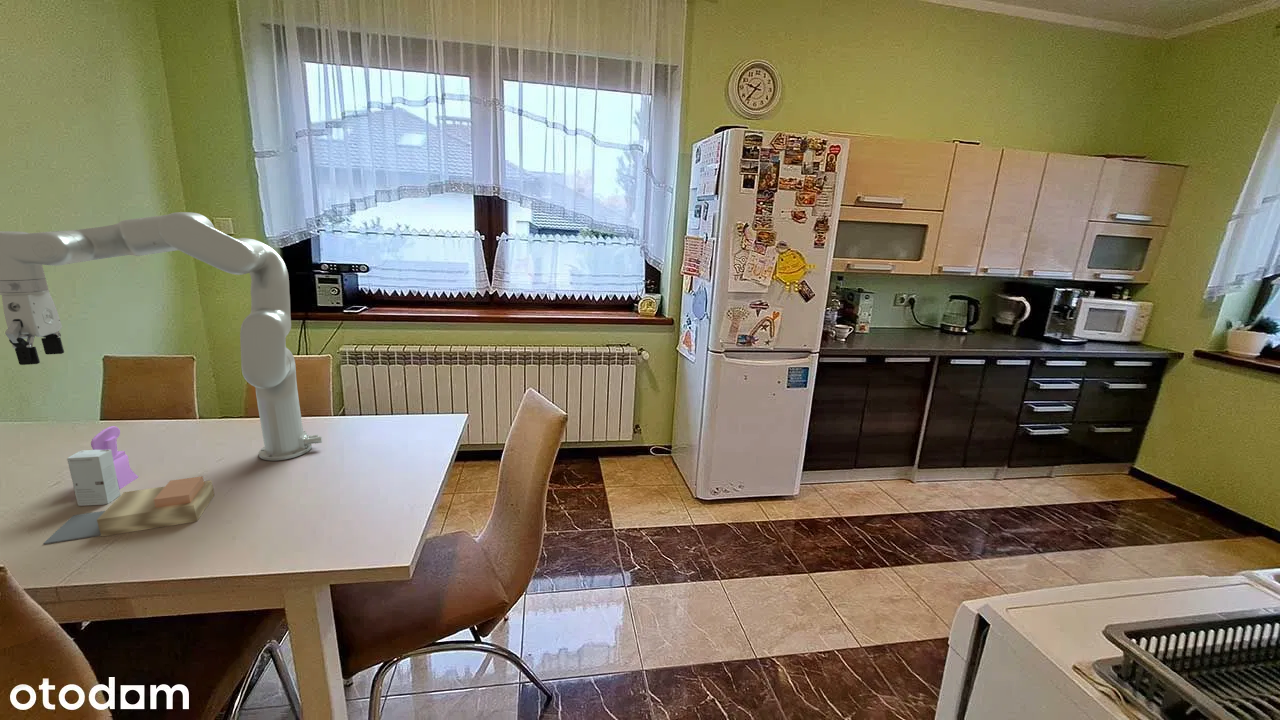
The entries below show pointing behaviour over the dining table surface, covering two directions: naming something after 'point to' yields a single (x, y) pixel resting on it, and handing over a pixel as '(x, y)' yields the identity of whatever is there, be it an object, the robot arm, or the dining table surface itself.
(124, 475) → the purple flanged fixture
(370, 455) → the dining table surface
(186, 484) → the tile
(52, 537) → the mat
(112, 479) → the skincare box
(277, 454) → the robot arm
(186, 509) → the board
